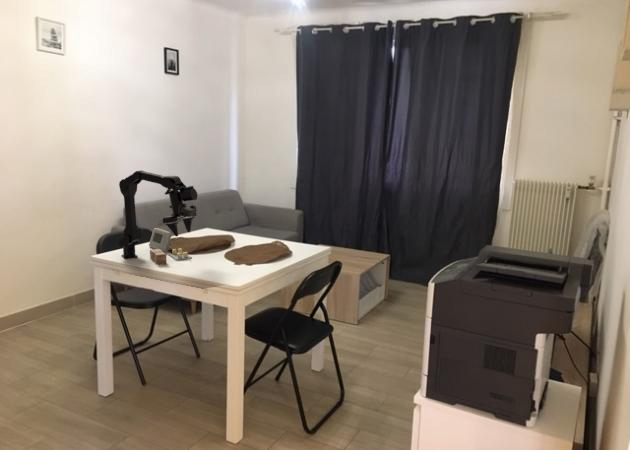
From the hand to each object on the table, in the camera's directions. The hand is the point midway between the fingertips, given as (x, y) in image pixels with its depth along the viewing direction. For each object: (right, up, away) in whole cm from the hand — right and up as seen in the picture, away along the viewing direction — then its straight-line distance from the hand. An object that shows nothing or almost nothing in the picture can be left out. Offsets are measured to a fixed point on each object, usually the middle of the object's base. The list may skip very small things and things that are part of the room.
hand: (183, 234), depth 244 cm
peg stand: (-5, -12, +14) cm, 19 cm away
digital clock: (-19, -9, +27) cm, 35 cm away
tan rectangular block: (-14, -14, +5) cm, 20 cm away
